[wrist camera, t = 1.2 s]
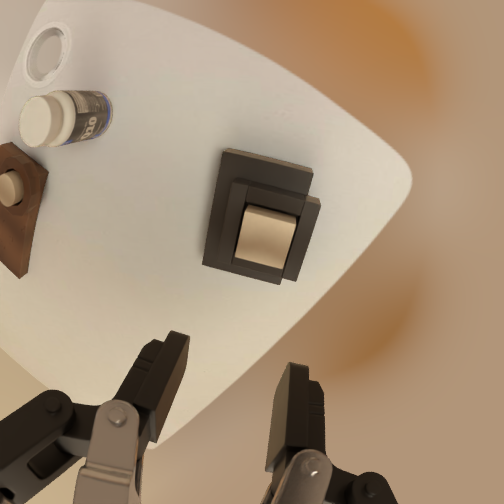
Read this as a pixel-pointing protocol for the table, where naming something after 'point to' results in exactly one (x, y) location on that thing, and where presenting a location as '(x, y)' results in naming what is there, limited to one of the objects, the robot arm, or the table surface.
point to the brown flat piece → (20, 209)
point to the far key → (11, 188)
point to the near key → (265, 236)
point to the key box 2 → (265, 196)
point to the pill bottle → (64, 118)
